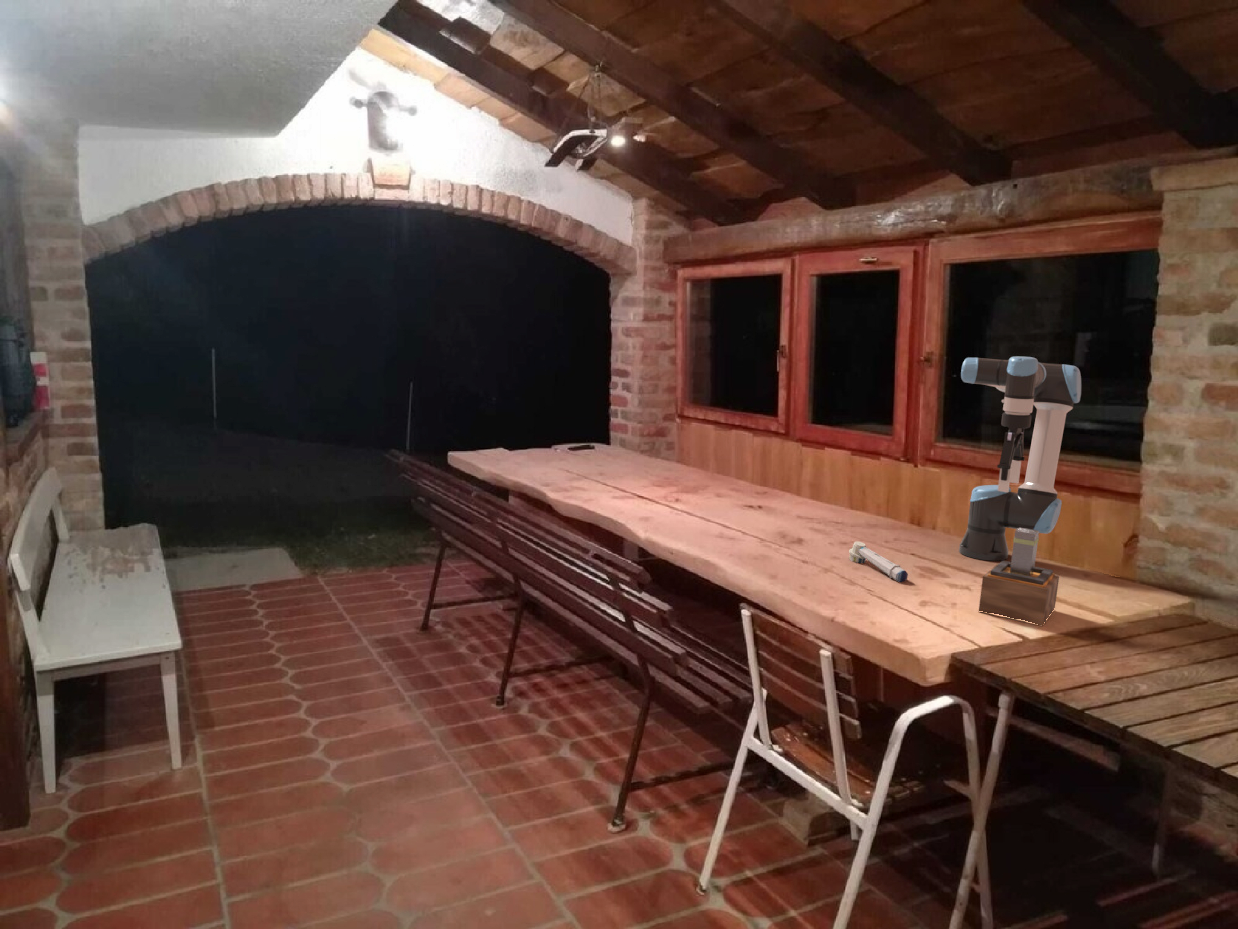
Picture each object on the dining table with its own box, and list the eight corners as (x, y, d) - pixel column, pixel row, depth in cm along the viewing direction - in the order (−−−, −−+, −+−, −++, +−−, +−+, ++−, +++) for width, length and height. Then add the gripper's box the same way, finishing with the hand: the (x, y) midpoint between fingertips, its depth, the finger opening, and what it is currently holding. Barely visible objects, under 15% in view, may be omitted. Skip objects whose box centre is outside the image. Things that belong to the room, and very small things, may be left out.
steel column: (1013, 569, 249) (1019, 527, 247) (1034, 573, 246) (1039, 530, 244) (1009, 574, 245) (1014, 530, 243) (1029, 578, 242) (1035, 534, 240)
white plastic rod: (896, 570, 267) (848, 537, 289) (892, 591, 269) (844, 556, 291) (911, 569, 269) (861, 536, 291) (906, 590, 271) (858, 555, 293)
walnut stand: (993, 597, 258) (998, 558, 256) (1054, 610, 249) (1060, 570, 247) (978, 612, 246) (983, 571, 243) (1042, 626, 237) (1048, 583, 234)
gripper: (1012, 406, 266) (1003, 477, 270) (992, 416, 246) (984, 493, 250) (1040, 409, 262) (1031, 481, 266) (1022, 419, 241) (1013, 497, 246)
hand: (1008, 487), depth 258 cm, fingers open, 13 cm apart
